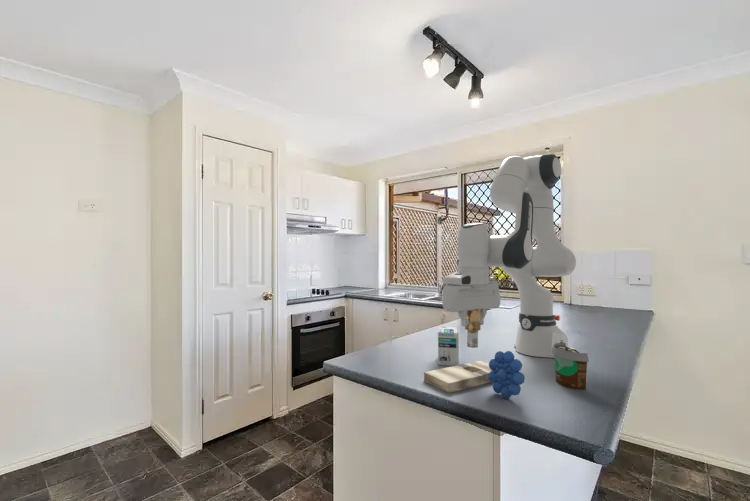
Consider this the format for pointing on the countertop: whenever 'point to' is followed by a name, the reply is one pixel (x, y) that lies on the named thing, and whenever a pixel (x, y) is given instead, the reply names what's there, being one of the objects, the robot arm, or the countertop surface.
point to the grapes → (506, 374)
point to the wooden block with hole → (459, 376)
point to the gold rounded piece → (473, 327)
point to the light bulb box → (448, 346)
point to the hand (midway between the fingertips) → (472, 325)
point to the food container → (570, 366)
